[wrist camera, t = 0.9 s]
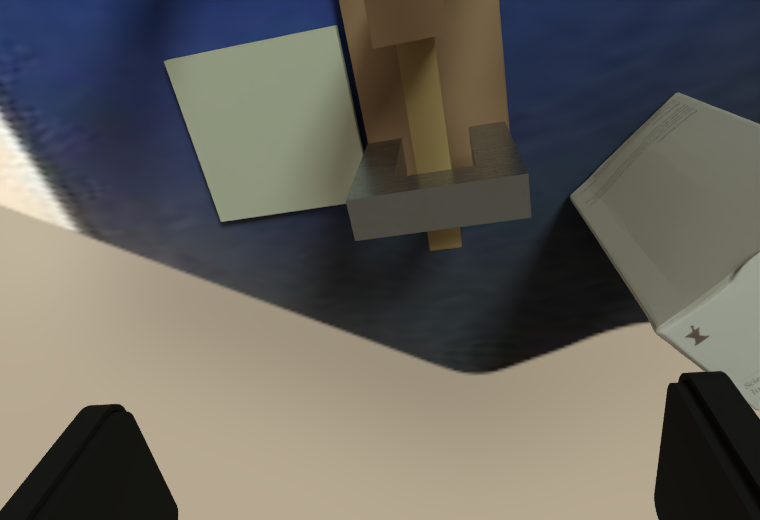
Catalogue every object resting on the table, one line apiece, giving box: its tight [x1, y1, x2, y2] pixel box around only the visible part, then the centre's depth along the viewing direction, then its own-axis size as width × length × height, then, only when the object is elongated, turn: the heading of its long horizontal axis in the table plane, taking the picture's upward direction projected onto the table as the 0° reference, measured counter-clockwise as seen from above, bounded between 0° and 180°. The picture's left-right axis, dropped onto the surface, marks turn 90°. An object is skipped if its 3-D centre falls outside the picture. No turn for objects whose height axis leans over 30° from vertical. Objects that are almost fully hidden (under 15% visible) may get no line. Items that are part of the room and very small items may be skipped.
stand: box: [339, 0, 510, 251], centre depth 24 cm, size 8×12×13 cm, turn 11°
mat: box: [164, 25, 364, 222], centre depth 32 cm, size 10×10×1 cm
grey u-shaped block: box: [346, 121, 531, 241], centre depth 24 cm, size 7×2×8 cm, turn 101°
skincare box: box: [570, 92, 760, 410], centre depth 25 cm, size 8×6×15 cm
